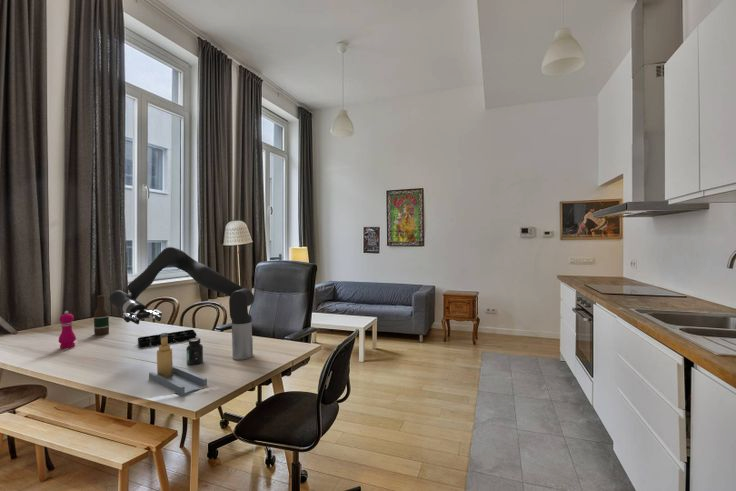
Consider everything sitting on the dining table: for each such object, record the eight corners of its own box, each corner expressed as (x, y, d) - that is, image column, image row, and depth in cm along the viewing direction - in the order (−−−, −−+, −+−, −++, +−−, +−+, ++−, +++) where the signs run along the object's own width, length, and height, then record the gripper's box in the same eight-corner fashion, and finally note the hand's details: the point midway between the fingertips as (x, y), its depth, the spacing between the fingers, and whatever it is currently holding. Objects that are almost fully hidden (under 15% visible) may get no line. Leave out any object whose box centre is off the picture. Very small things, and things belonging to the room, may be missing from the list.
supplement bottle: (186, 368, 160) (185, 342, 160) (187, 363, 166) (186, 338, 166) (203, 366, 163) (202, 340, 162) (203, 361, 169) (202, 336, 169)
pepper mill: (78, 346, 196) (77, 310, 195) (63, 350, 189) (62, 312, 189) (71, 344, 199) (70, 309, 198) (55, 348, 192) (54, 311, 192)
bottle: (173, 372, 152) (172, 331, 152) (172, 377, 147) (171, 334, 147) (158, 375, 150) (157, 332, 150) (156, 379, 145) (155, 336, 145)
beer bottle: (97, 336, 216) (96, 296, 215) (91, 334, 220) (90, 295, 219) (111, 333, 222) (110, 295, 222) (106, 331, 226) (105, 294, 226)
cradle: (149, 381, 146) (148, 372, 146) (173, 373, 155) (173, 365, 154) (181, 396, 131) (181, 387, 131) (207, 387, 140) (206, 378, 139)
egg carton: (201, 339, 209) (200, 332, 209) (143, 351, 187) (142, 344, 187) (189, 333, 221) (188, 327, 221) (133, 344, 199) (132, 338, 198)
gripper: (117, 303, 160) (131, 314, 150) (152, 300, 171) (167, 310, 161) (116, 319, 160) (130, 331, 151) (150, 315, 172) (165, 326, 162)
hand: (149, 320), depth 156 cm, fingers open, 8 cm apart
